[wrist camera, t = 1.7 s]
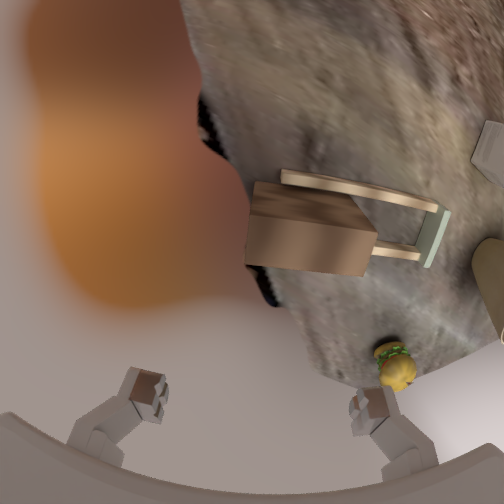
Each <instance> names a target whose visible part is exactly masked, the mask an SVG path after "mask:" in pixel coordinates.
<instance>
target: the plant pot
mask: <svg viewBox="0 0 504 504" xmlns="http://www.w3.org/2000/svg"><path fill="white" fill-rule="evenodd" d="M471 266H472V270H473V273H474V276H475V279H476V282H477V285H478V288H479V290H480V293H481V296H482V298H483V301H484V303H485V306H486V308H487V311H488V313H489V316H490V318H491V320H492V323H493V325H494V327H495V329H496V331H497V334H498V336H499V338H500V340H501V343H502V344H503V345H504V241H502V240H498V239H493V238H488V239H485V240H484V241H483V242H481V243H480V244H479V246H478V247H477V249H476V250H475V252H474V254H473V257H472V263H471Z"/></svg>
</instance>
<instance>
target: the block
mask: <svg viewBox="0 0 504 504" xmlns="http://www.w3.org/2000/svg"><path fill="white" fill-rule="evenodd" d="M377 236H378V232H377V230H376V229H375V228H374V226H373V225H372V224H371V222H370V221H369V220H368V218H367V217H366V216H365V215H364V213H363V212H362V211H361V210H360V208H359V207H358V206H357V205H356V203H355V202H354V201H353V200H352V198H351V197H350V196H349V195H347V194H342V193H336V192H330V191H324V190H318V189H312V188H305V187H298V186H291V185H284V184H276V183H269V182H260V181H255V185H254V191H253V197H252V203H251V209H250V215H249V225H248V234H247V244H246V253H245V263H244V264H249V265H258V266H266V267H275V268H284V269H293V270H302V271H312V272H321V273H331V274H340V275H350V276H360V277H363V276H364V273H365V271H366V268H367V265H368V262H369V259H370V257H371V254H372V251H373V248H374V245H375V242H376V239H377Z"/></svg>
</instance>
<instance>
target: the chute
mask: <svg viewBox="0 0 504 504" xmlns="http://www.w3.org/2000/svg"><path fill="white" fill-rule="evenodd" d="M280 179H281V183H284V184H291V185H298V186H305V187H312V188H318V189H324V190H330V191H336V192H342V193H347V194H353V195H358V196H363V197H368V198H373V199H378V200H383V201H388V202H392V203H397V204H401V205H405V206H410V207H414V208H418V209H422V210H426V211H430V212H434V213H436V212H437V209H438V204H436V203H435V202H434V201H432V200H431V199H428V198H424V197H420V196H417V195H413V194H409V193H405V192H401V191H397V190H393V189H389V188H384V187H380V186H376V185H371V184H366V183H362V182H357V181H352V180H347V179H341V178H336V177H330V176H325V175H319V174H313V173H307V172H300V171H293V170H286V169H282V170H281V177H280ZM372 254H373V255H381V256H388V257H396V258H403V259H411V260H419V257H420V255H421V253H420V252H419V250H418V249H417V248H416V247H415V246H411V245H405V244H399V243H392V242H386V241H380V240H376V242H375V245H374V248H373V251H372Z"/></svg>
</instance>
